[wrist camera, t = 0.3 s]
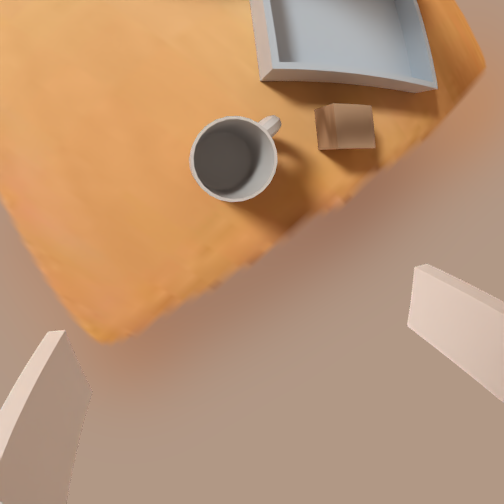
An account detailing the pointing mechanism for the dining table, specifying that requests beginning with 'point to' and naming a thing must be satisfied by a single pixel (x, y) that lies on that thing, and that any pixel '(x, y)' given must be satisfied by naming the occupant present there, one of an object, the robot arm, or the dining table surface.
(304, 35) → the tote
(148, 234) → the dining table surface
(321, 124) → the walnut cube
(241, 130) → the cup
